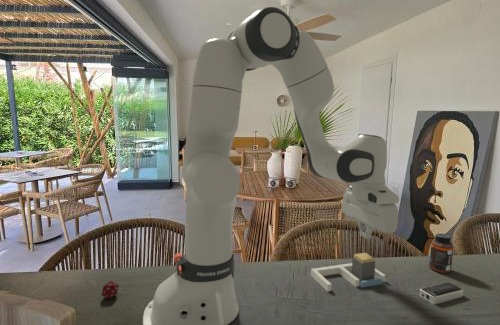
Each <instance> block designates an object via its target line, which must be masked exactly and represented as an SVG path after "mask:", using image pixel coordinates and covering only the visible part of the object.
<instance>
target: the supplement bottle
mask: <svg viewBox="0 0 500 325" xmlns="http://www.w3.org/2000/svg"><path fill="white" fill-rule="evenodd" d="M429 251H430V252H429V265H428V266H429V268H430V269H431V270H432V271H434V272H436V273H440V274H441V273H442V274H449V273H451V272H452V265H453V256H454V244H453V243H452V242H451V236H450V235H449V234H447V233H446V234H445V233H435V237H434V239H433V240H432V241H431V242H430V250H429Z"/></svg>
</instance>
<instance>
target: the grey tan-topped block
mask: <svg viewBox="0 0 500 325" xmlns="http://www.w3.org/2000/svg"><path fill="white" fill-rule="evenodd" d="M351 263H352V272H351V273H352V274H353V275H354V276H355V277H357V278H358V279H359V284H360V283H361V281H364V280H370V279H375V277H374V275H375V269H376V261H375V257H373V256H371V255H370V254H368V253H367V252H361V253H360V252H359V253H354V254H353V257H352V262H351Z"/></svg>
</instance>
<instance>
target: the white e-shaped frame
mask: <svg viewBox="0 0 500 325" xmlns="http://www.w3.org/2000/svg"><path fill="white" fill-rule="evenodd" d="M332 275H340V276H341V277H343V278H344V279H345V280H346V281H348V282H349V283H350V284H351V285H353V287H355V288H357V287H361V288H367V287H373V286H379V285H383V284H384V283H386V278H387V276H386V274H384V273H383V272H381V271H380V270H378V269H377V268H375V275H374V279H370V280H364V281H361V283H360V282H359V279H358V278H357V277H355V276H354V275H353V274H352V262H351V263H343V264H335V265H329V266H322V267H315V268H310V276H311V277H312V278H313V279H314V280H315V281H316V282H317V283H318V284H319V285H320V286H321V287H322V288H323V289H324V291H326V292H328V293H329V292H332V287H333V286H332V283H331V282H330V281H329V280H328V279H327V278H325V276H326V277H327V276H332Z"/></svg>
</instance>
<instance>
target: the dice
mask: <svg viewBox="0 0 500 325" xmlns="http://www.w3.org/2000/svg"><path fill="white" fill-rule="evenodd" d="M118 290H119V284H117V283H115V282H113V281H112V280H109V281H108V282H107V283H106V284H104V285H103V287H102V292H101V296H102V297H104V298H106V299H109V300H110V299H112V298H113V297H114V296H116V295H117V294H118Z"/></svg>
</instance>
